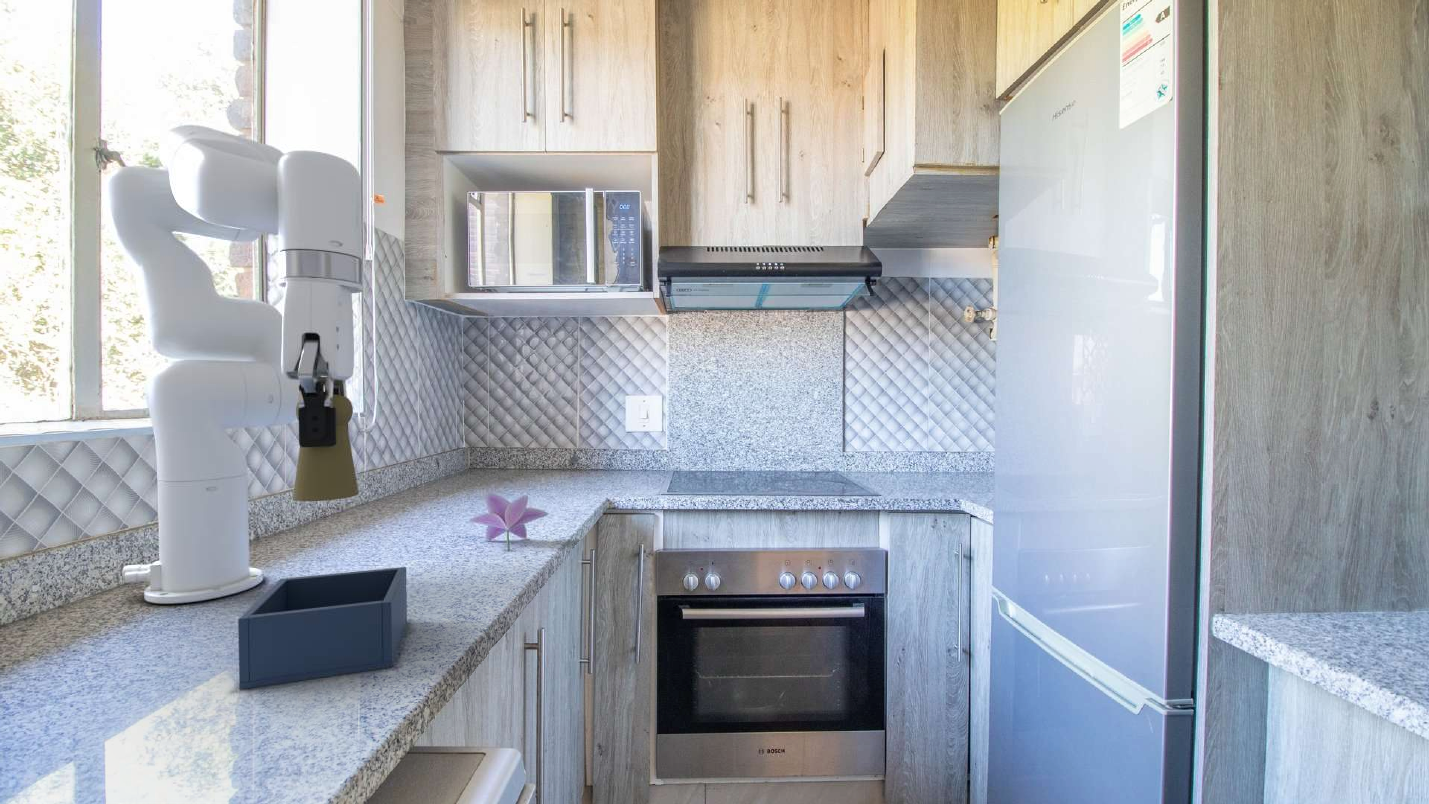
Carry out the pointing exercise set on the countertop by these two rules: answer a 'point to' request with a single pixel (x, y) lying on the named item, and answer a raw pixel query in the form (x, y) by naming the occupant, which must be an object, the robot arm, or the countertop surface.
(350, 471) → the cork
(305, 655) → the bin
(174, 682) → the countertop surface
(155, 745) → the countertop surface
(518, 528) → the lily
